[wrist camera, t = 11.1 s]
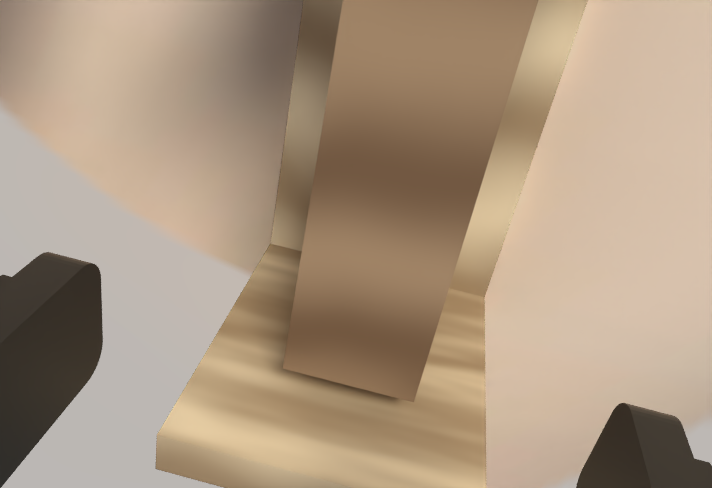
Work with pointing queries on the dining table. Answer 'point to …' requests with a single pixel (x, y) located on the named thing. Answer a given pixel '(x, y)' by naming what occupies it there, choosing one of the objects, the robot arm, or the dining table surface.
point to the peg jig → (275, 302)
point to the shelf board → (398, 182)
